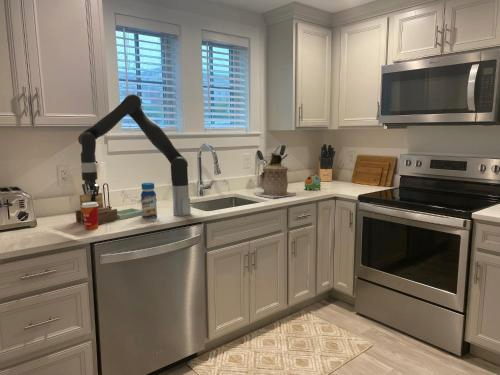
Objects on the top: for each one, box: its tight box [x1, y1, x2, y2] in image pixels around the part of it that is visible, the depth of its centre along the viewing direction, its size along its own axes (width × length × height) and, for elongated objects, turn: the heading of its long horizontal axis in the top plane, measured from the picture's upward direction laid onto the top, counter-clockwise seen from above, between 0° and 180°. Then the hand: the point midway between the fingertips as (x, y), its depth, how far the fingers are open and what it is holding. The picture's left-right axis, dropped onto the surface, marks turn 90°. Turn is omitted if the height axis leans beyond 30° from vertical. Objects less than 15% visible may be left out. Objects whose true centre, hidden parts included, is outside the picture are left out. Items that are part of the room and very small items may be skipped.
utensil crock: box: [252, 152, 297, 200], centre depth 277 cm, size 25×25×32 cm
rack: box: [75, 206, 119, 225], centre depth 198 cm, size 15×15×8 cm
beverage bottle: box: [140, 182, 158, 220], centre depth 207 cm, size 8×8×20 cm
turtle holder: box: [304, 174, 322, 192], centre depth 303 cm, size 12×18×12 cm
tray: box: [117, 207, 142, 221], centre depth 211 cm, size 12×16×4 cm
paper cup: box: [80, 202, 99, 231], centre depth 182 cm, size 8×8×14 cm
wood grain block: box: [79, 192, 104, 212], centre depth 200 cm, size 3×11×14 cm, turn 143°
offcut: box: [98, 206, 107, 212], centre depth 197 cm, size 2×10×6 cm, turn 143°
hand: (91, 203), depth 199 cm, fingers closed on wood grain block, 3 cm apart
